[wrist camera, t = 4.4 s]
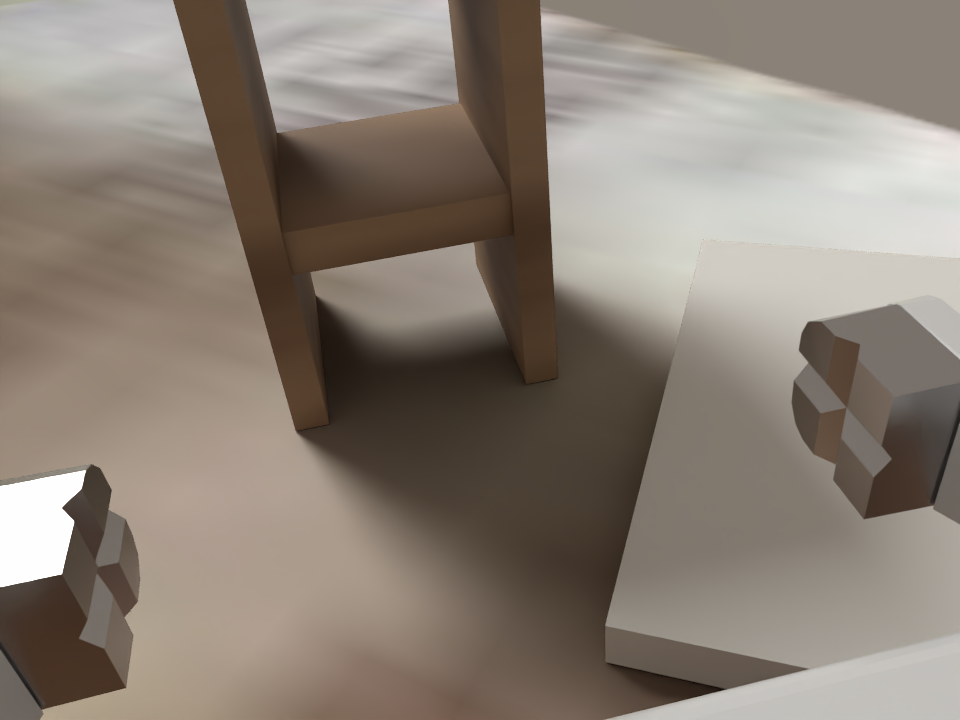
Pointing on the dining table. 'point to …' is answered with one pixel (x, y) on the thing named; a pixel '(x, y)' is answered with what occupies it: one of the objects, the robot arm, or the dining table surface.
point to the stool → (387, 183)
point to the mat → (771, 488)
